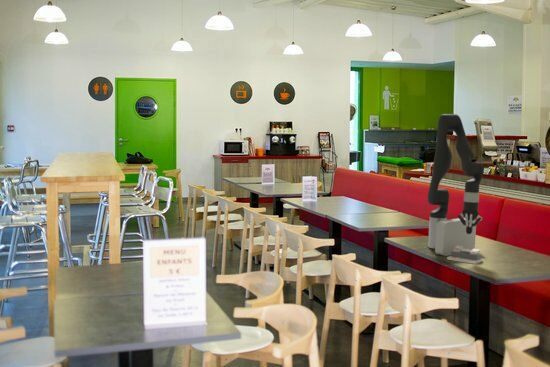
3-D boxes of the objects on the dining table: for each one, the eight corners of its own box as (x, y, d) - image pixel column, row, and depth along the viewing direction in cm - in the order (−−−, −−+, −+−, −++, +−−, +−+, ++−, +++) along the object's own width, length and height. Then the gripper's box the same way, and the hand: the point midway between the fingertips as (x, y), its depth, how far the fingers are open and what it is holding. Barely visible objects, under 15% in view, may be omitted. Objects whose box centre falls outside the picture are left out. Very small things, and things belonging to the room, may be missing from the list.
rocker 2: (465, 250, 349) (465, 248, 349) (471, 251, 347) (471, 249, 347) (461, 250, 345) (461, 248, 345) (467, 251, 343) (467, 249, 343)
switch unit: (454, 256, 353) (455, 249, 353) (482, 260, 344) (483, 254, 344) (446, 259, 346) (447, 252, 345) (475, 264, 337) (475, 257, 336)
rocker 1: (457, 247, 351) (456, 245, 351) (463, 248, 349) (462, 246, 349) (453, 251, 348) (453, 249, 347) (459, 252, 346) (459, 250, 345)
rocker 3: (473, 250, 346) (473, 248, 346) (479, 251, 344) (479, 249, 344) (470, 253, 342) (470, 251, 342) (476, 254, 340) (476, 252, 340)
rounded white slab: (462, 248, 377) (464, 216, 375) (474, 250, 371) (476, 218, 369) (431, 253, 359) (432, 220, 357) (442, 256, 353) (444, 222, 351)
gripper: (486, 201, 343) (484, 234, 346) (461, 198, 351) (459, 231, 353) (481, 202, 337) (478, 236, 340) (456, 199, 345) (453, 232, 348)
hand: (468, 233), depth 347 cm, fingers closed
